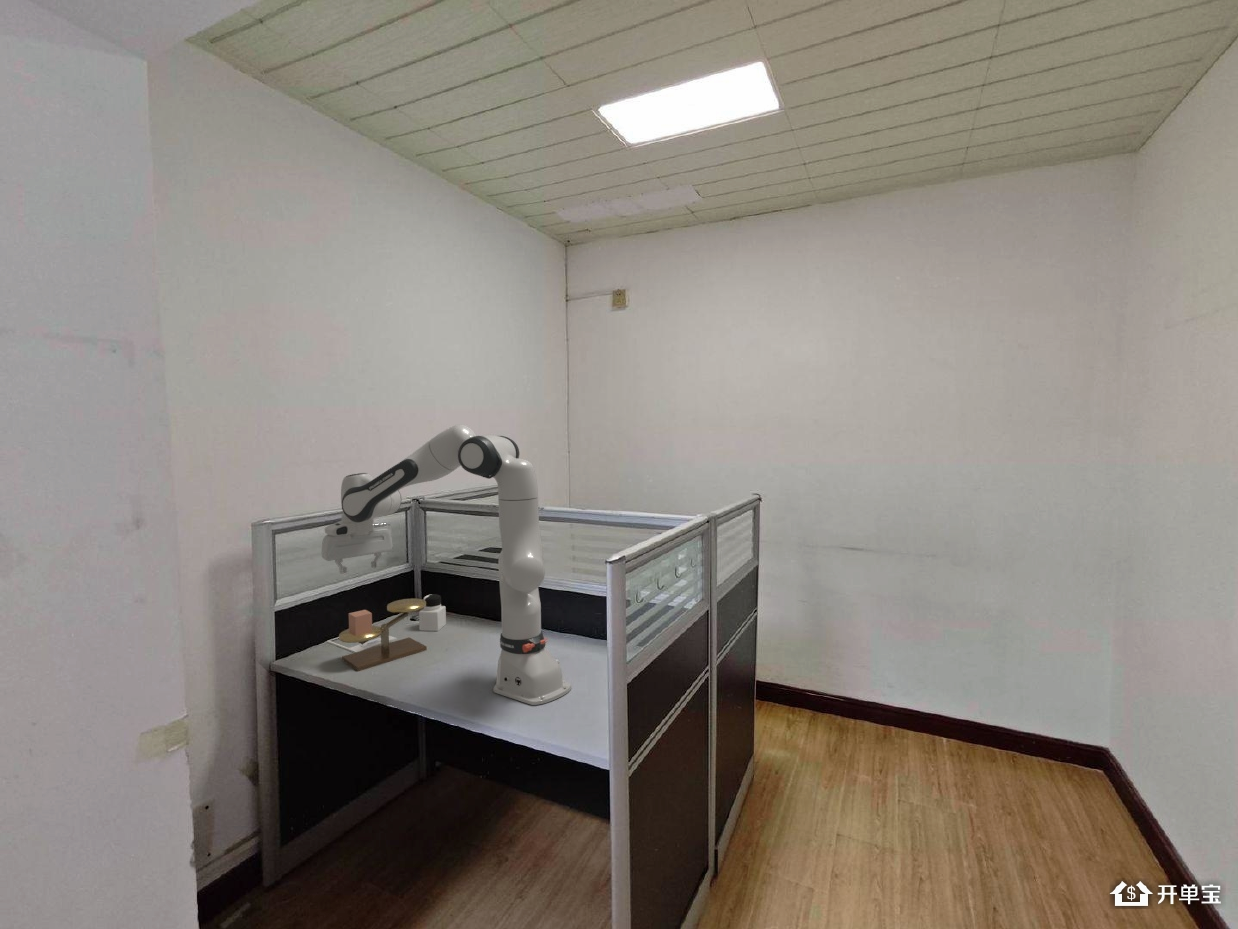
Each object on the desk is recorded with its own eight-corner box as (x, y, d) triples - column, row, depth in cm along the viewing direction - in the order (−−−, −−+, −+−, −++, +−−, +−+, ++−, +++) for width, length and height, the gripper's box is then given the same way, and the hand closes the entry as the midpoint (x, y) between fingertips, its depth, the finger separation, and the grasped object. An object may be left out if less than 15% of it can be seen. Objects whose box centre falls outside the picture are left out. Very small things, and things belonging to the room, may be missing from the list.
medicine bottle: (446, 624, 203) (445, 593, 203) (438, 631, 196) (437, 598, 196) (427, 624, 204) (427, 592, 203) (419, 630, 197) (418, 598, 196)
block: (372, 632, 169) (371, 613, 169) (355, 636, 166) (355, 617, 165) (365, 628, 173) (365, 609, 172) (349, 632, 169) (348, 613, 169)
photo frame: (356, 651, 176) (326, 640, 186) (356, 655, 176) (326, 643, 186) (396, 637, 188) (366, 627, 198) (396, 640, 189) (366, 630, 199)
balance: (433, 647, 181) (432, 603, 180) (349, 674, 161) (347, 624, 160) (416, 638, 189) (415, 596, 188) (333, 662, 169) (332, 615, 169)
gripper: (386, 520, 177) (387, 562, 178) (318, 528, 162) (320, 574, 163) (395, 522, 173) (396, 565, 174) (326, 531, 158) (328, 578, 159)
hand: (359, 570), depth 168 cm, fingers open, 8 cm apart
